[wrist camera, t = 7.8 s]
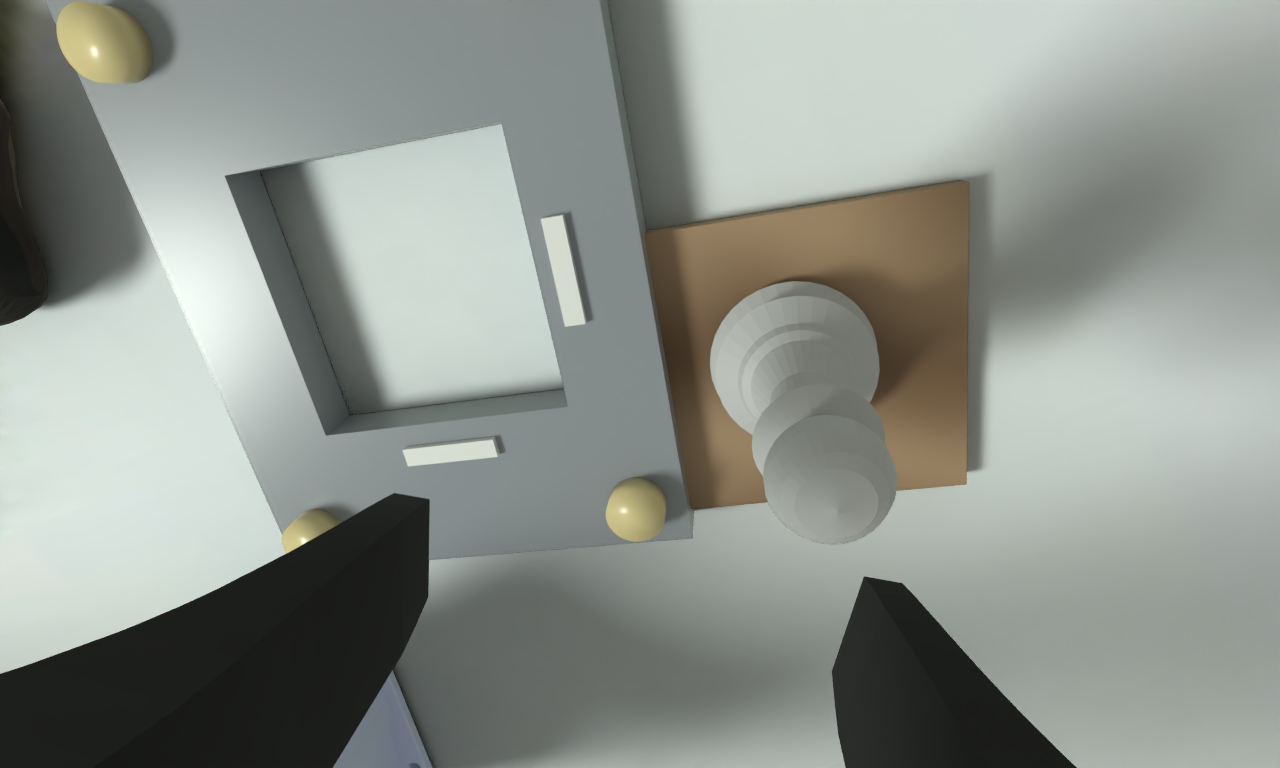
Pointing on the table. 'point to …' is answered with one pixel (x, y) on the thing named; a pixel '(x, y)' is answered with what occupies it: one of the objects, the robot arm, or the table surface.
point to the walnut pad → (864, 272)
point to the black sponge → (16, 241)
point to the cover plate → (275, 300)
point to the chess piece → (808, 407)
